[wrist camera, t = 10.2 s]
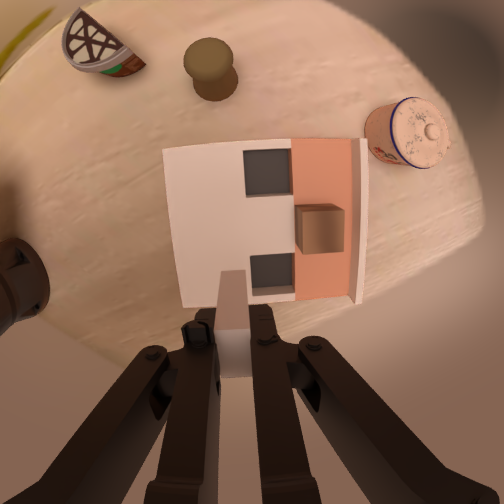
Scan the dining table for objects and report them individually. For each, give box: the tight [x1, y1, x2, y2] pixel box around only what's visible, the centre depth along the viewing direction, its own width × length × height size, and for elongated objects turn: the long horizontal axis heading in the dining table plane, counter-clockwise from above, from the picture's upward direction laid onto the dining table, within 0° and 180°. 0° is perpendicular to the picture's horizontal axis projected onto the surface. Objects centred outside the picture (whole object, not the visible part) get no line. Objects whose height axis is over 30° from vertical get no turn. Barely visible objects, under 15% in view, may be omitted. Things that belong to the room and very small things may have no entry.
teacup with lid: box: [365, 97, 451, 169], centre depth 31 cm, size 12×9×12 cm
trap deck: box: [162, 138, 368, 308], centre depth 37 cm, size 25×22×6 cm
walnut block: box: [294, 203, 345, 255], centre depth 35 cm, size 5×5×5 cm
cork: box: [184, 38, 238, 101], centre depth 29 cm, size 6×6×11 cm
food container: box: [62, 7, 146, 77], centre depth 27 cm, size 12×6×10 cm, turn 42°
